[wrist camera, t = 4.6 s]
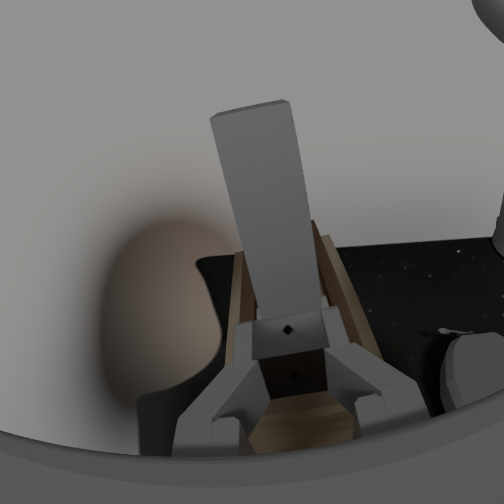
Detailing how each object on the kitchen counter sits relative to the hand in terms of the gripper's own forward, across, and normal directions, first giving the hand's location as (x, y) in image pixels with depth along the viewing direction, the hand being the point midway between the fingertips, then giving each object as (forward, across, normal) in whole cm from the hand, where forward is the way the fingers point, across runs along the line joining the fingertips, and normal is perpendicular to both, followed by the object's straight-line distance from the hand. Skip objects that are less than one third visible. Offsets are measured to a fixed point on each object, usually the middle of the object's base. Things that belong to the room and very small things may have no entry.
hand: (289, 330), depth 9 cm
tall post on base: (+7, 0, -9) cm, 11 cm away
